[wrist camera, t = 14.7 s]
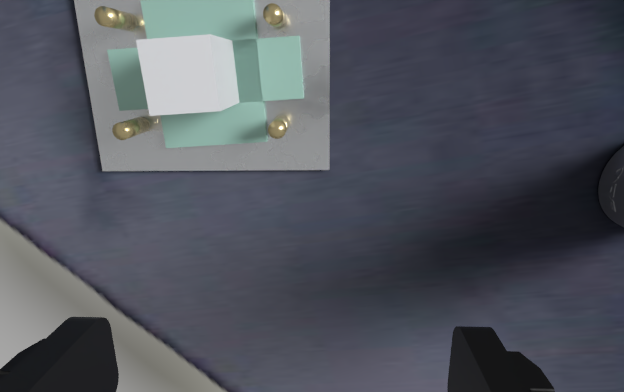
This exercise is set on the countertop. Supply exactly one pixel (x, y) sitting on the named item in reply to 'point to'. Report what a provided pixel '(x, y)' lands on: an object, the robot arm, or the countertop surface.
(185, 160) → the chassis plate
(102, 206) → the countertop surface
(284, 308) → the countertop surface
